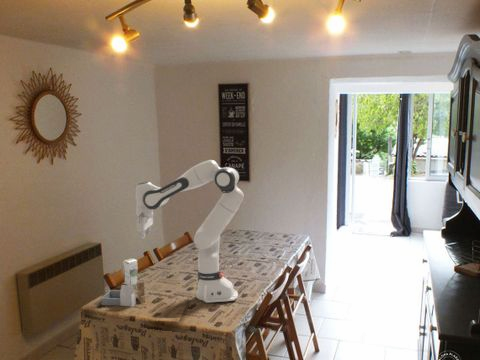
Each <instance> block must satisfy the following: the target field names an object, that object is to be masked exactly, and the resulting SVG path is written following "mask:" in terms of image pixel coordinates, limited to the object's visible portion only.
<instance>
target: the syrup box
mask: <svg viewBox="0 0 480 360" xmlns="http://www.w3.org/2000/svg"><path fill="white" fill-rule="evenodd" d="M138 271H139V269H138V260H137V259H135V258H128V259H124V260H123V279H124V280H123V281H124V282H123V283H124V284H123V285H125V286H134V285H137V281H139V276H138V275H139V273H138Z"/></svg>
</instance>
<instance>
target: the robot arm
mask: <svg viewBox="0 0 480 360" xmlns="http://www.w3.org/2000/svg"><path fill="white" fill-rule="evenodd" d="M240 179H241V176H240V172H239V170H237V168H235V167H230V166H221V167H220V166H219V164H218V163H217V162H216V160H213V159H208V160H205V161H202V162H200V163H198V164H196V165H194V166H192V167H190V168H189V169H187V170H186V171H185V172H184V173H183V174H182V175H180V176H179V177H178V178H176V179H175V180H174V181H172V182H170V183H168V184H166V185H164V186H162V187H159V186H157V185H155V184H153V183H152V182H151V181H143V182H141V183H140V182H139V183H137V185H136V186H135V187H136V188H135V201H136V205H135V210H136V213H135V214H136V216H137V218H136V231H137V232H139V233H140V239H142V240H143V239H146V235H147V236H149V235H150V234H151V226H153V225H154V212H155V210H156V209H158V208H159V207H162V206H164V205H165V204H167V203H168V202H169V200H170V198H171V197H173V196H174V195H177V194H179V193H181V192H185V191H189V190H190V191H191V190H193V189H197V188H200V187H202V186H204V185H206V184H208V183H210V182H212V181H214V183H215V185H216V186H217V188H218V189H219V190H220V191H221V192H222V194H221V197H219V200H217V202H216V204H215V206H214V207H213V208H212V209H211V211H210V213H208V215H207V216H206V218H205V219H204V221H203V222H202V224H201V225H200V226H199V227H198V229H197V230H196V232H195V234H194V236H193V243H194V245H195V247H197V248H198V249H199V250H198V255H197V258H198V259H197V265H198V266H197V267H198V270H197V282H198V283H197V291H196V296H195V298H197V299H198V300H200V301H202V302H204V303H219V302H220V303H222V302H232V301H236V300H237V299H238V297H239V293H238V291H237V290H236V289H234V285H233V283H232V282H231V281H230V280H229V279H227V278H226V277H224V272H223V270H221V269H220V262H219V261H220V260H219V259H220V257H219V255H220V246H221V234H222V233H223V232H224V230H225V229H226V227H227V226H228V225H229V224H230V222H231V221H232V219H233V218H234V216H235V215H236V213H237V211H238V210H239V209H240V206H241V205H242V202H243V200H244V198H245V195H244V192H243V191H242V189H240V188H239V187H238V185H237V184H239V182H240Z"/></svg>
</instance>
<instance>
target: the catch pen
mask: <svg viewBox="0 0 480 360" xmlns="http://www.w3.org/2000/svg"><path fill="white" fill-rule="evenodd" d="M120 291H121V289H119V290H118V289H117V290H116V289H115V290H113V289H111V290H108V291H107V292H106V293H105V294H104V295H103V296H102V297H101V303H100V304H101V306H121V305H120Z"/></svg>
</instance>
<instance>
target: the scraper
mask: <svg viewBox="0 0 480 360" xmlns="http://www.w3.org/2000/svg"><path fill="white" fill-rule="evenodd" d="M136 291H137V294H136V296H137V297H136V298H137V300H138V301H139V302H140V303H142V304H143V303H146V295H145V281H144V280H138V281H137V284H136Z"/></svg>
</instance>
